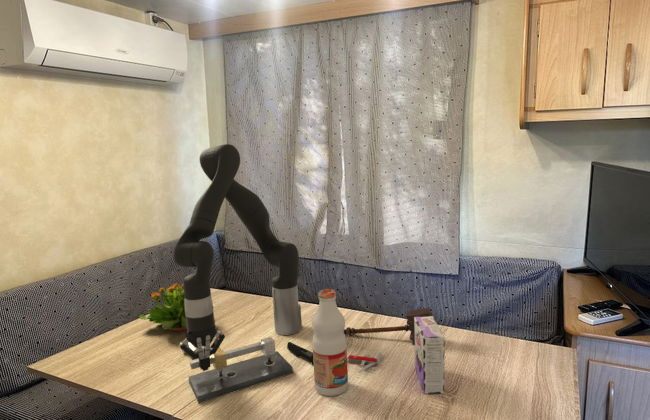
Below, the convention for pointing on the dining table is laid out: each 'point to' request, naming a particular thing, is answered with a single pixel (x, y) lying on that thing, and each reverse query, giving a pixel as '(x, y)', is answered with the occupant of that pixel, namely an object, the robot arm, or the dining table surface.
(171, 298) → the potted flower
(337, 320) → the fruit juice
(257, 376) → the bolt hole plate
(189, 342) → the pipe fitting
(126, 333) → the dining table surface
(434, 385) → the candy box
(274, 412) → the dining table surface
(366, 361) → the swiss army knife
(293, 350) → the electric trimmer
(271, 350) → the steel beam
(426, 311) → the hammer
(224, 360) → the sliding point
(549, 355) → the dining table surface
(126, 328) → the dining table surface
